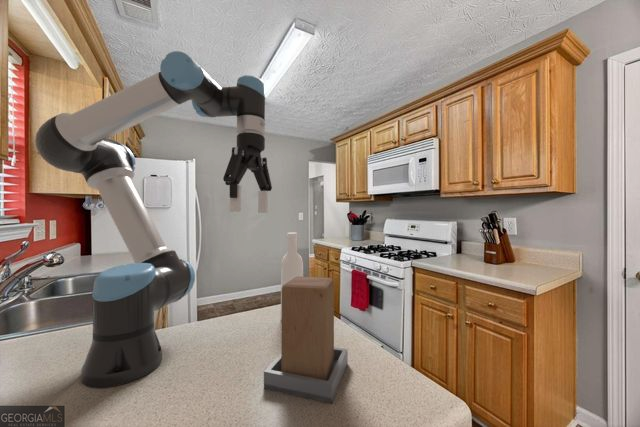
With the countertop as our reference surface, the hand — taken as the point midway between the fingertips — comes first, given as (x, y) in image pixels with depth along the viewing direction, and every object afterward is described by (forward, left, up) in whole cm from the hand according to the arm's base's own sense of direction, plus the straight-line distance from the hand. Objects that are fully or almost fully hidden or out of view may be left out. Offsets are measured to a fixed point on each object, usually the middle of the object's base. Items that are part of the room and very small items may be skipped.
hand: (250, 212), depth 73 cm
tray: (+20, -8, -37) cm, 42 cm away
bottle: (+3, +22, -37) cm, 43 cm away
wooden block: (+20, -8, -36) cm, 42 cm away
